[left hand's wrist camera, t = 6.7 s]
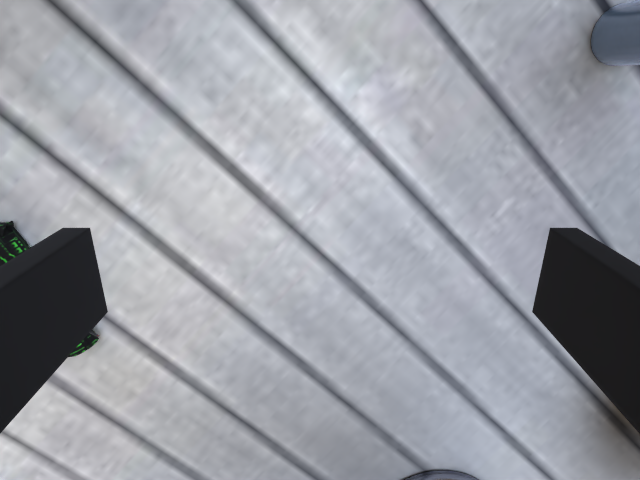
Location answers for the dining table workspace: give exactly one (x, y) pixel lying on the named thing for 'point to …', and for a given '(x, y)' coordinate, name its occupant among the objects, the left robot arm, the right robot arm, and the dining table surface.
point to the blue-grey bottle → (618, 35)
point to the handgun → (7, 243)
